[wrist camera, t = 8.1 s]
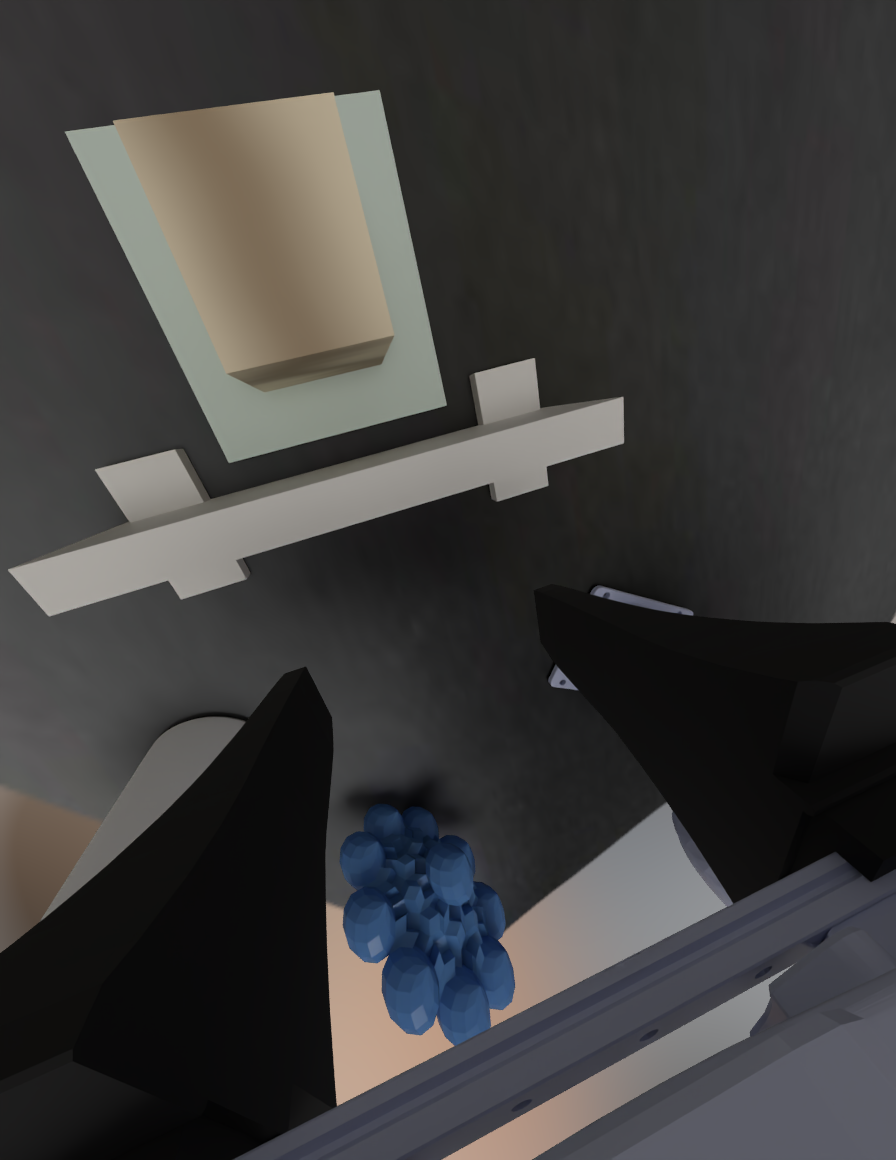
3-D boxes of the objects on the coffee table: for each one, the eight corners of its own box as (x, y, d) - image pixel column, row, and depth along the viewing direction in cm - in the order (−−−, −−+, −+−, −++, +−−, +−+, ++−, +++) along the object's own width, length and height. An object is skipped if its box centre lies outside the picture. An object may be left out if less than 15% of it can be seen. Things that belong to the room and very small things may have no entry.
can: (154, 797, 21) (-55, 1185, 10) (147, 711, 19) (-124, 1084, 8) (273, 789, 23) (205, 1104, 12) (279, 710, 21) (205, 1007, 10)
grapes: (499, 783, 28) (590, 993, 18) (454, 839, 30) (514, 1066, 19) (372, 751, 24) (391, 1011, 13) (326, 819, 25) (308, 1107, 14)
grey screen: (536, 358, 17) (622, 323, 12) (549, 481, 20) (624, 499, 14) (94, 471, 14) (-60, 493, 9) (177, 595, 17) (97, 671, 11)
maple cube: (336, 203, 13) (329, 79, 8) (381, 364, 15) (394, 335, 11) (196, 227, 12) (107, 107, 8) (264, 392, 14) (226, 373, 10)
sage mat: (378, 100, 12) (379, 90, 12) (444, 406, 17) (446, 405, 16) (73, 141, 11) (65, 132, 11) (231, 462, 15) (228, 463, 15)
